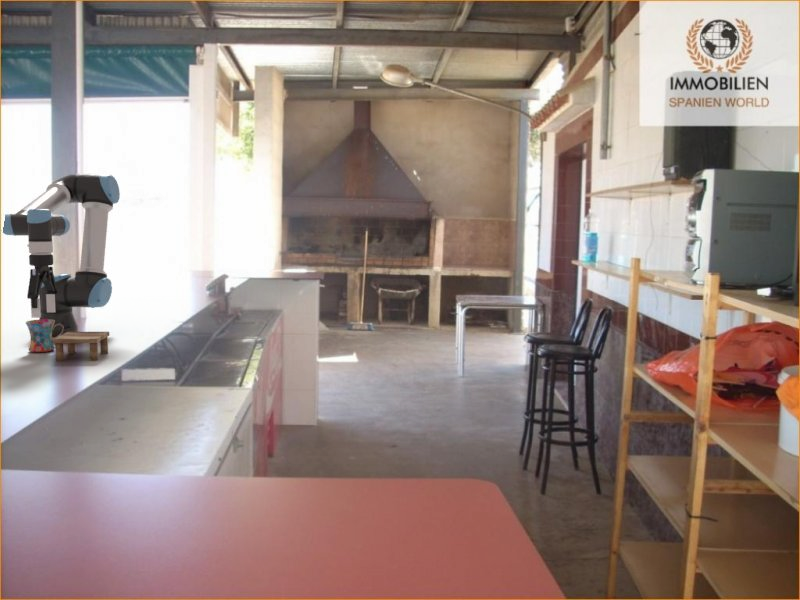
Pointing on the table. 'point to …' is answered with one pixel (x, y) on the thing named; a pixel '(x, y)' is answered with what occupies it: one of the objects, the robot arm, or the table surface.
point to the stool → (81, 338)
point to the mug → (41, 335)
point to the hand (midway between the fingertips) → (43, 315)
